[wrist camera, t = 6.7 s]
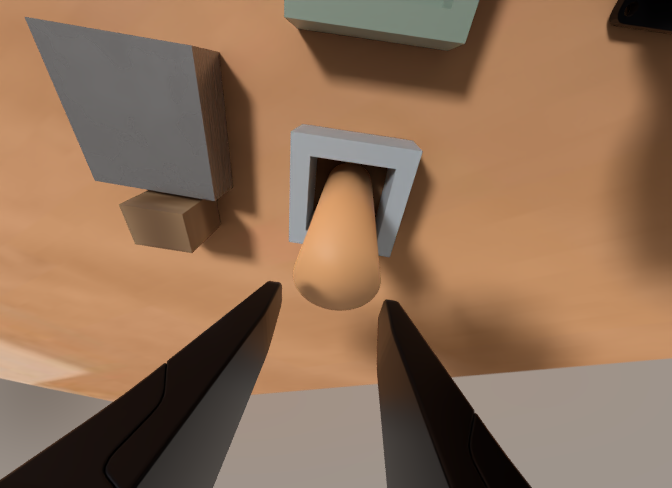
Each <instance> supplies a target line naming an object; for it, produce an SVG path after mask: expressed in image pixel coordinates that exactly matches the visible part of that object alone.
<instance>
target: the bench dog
mask: <svg viewBox="0 0 672 488" xmlns="http://www.w3.org/2000/svg"><path fill="white" fill-rule="evenodd" d="M119 206H120V208H121V211H122V213H123V216H124V218H125V221H126V223H127V225H128V228H129V230H130V233H131V235H132V237H133V240H134V242H135V244H137V245H144V246H150V247H157V248H163V249H169V250H176V251H182V252H189V253H193V252H194V251H195V250H196V249H197V248H198V247H199V246H200V245H201V244H202V243H203V242H204V241H205V240H206V239H207V238H208V237H209V236H210V235H211V234H212V233H213V232H214V231H215V230H216V229H217V228H218V227H219V226H220V225H221V224H220V218H219V212H218V206H217V200H216V201H211V200H205V199H199V198H194V197H188V196H182V195H176V194H170V193H164V192H159V191H153V190H148V191H146V192H144V193H142V194H140V195H138V196H135V197H133V198H131V199H129V200H127V201H125V202H123V203H121V204H119Z"/></svg>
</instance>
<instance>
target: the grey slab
mask: <svg viewBox="0 0 672 488" xmlns="http://www.w3.org/2000/svg"><path fill="white" fill-rule="evenodd" d="M25 19H26V21H27V24H28V26H29V28H30V31H31V33H32V35H33V38H34V40H35V42H36V45H37V47H38V49H39V52H40V54H41V56H42V59H43V61H44V63H45V66H46V68H47V70H48V73H49V75H50V77H51V80H52V82H53V84H54V87H55V89H56V91H57V94H58V96H59V98H60V100H61V103H62V105H63V107H64V110H65V112H66V114H67V117H68V119H69V121H70V124H71V126H72V128H73V131H74V133H75V135H76V138H77V140H78V142H79V145H80V147H81V149H82V152H83V154H84V156H85V159H86V161H87V163H88V166H89V168H90V170H91V173H92V175H93V177H94V180H95V181H100V182H106V183H112V184H118V185H124V186H130V187H135V188H141V189H147V190H153V191H159V192H164V193H170V194H176V195H182V196H188V197H194V198H199V199H205V200H211V201H216V200H217V199H218V198H220V197H221V196H222V195H224V194H225V193H226V192H227V191H229V190H230V189H231V188H233V182H232V172H231V163H230V153H229V143H228V133H227V124H226V114H225V104H224V94H223V84H222V75H221V65H220V55H219V52H216V51H212V50H208V49H203V48H199V47H195V46H191V45H185V44H179V43H173V42H167V41H162V40H156V39H150V38H144V37H138V36H133V35H127V34H121V33H115V32H110V31H104V30H98V29H92V28H86V27H81V26H75V25H69V24H63V23H57V22H52V21H46V20H40V19H34V18H28V17H25Z"/></svg>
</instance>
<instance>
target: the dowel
mask: <svg viewBox="0 0 672 488" xmlns="http://www.w3.org/2000/svg"><path fill="white" fill-rule="evenodd" d="M293 280H294V283H295V286H296V288H297V290H298V291H299V292H300V294H301V295H302V296H303V297H304V298H306V299H307V300H308V301H310V302H311V303H313V304H315V305H317V306H319V307H322V308H325V309H330V310H340V311H342V310H351V309H355V308H358V307H361V306H363V305H365V304H366V303H368V302H369V301H371V300H372V299H373V298H374V297H375V295H376V294H377V292H378V290H379V288H380V284H381V275H380V265H379V254H378V244H377V233H376V222H375V212H374V201H373V191H372V181H371V177H370V175H369V173H368V172H367V170H366V169H365V168H363V167H362V166H360V165H359V164H356V163H343V164H340V165H338V166H336V167H335V168H334V169H333V170H332V171H331V172H330V174H329V176H328V178H327V181H326V184H325V186H324V189H323V192H322V194H321V197H320V200H319V202H318V205H317V207H316V210H315V213H314V215H313V218H312V221H311V223H310V226H309V229H308V231H307V234H306V236H305V239H304V242H303V244H302V247H301V250H300V252H299V255H298V258H297V260H296V263H295V266H294V269H293Z"/></svg>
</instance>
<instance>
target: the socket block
mask: <svg viewBox="0 0 672 488" xmlns="http://www.w3.org/2000/svg"><path fill="white" fill-rule="evenodd" d="M422 152H423V151H422V150H421V149H420V148H419V147H418V146H417V145H416V144H415V143H414V142H413V141H412V140H405V139H398V138H392V137H385V136H379V135H372V134H365V133H359V132H352V131H345V130H339V129H332V128H326V127H319V126H312V125H306V124H302V125H300V126H299V127H297V128H296V129H294V130H292V131H291V154H290V213H289V242H294V243H301V244H303V242H304V239H305V236H306V234H307V231H308V229H309V226H310V223H311V221H312V218H313V215H314V213H315V211H313V209H314V196H315V183H316V170H317V158H318V157H319V158H326V159H333V160H339V161H346V162H352V163H359V164H365V165H372V166H379V167H385V168H388V170H387V174H386V178H385V183H384V187H383V191H382V195H381V199H380V203H379V207H378V211H377V215H376V219H375V222H376V233H377V244H378V254H379V256H385V257H390V255H391V251H392V248H393V245H394V242H395V239H396V235H397V232H398V229H399V226H400V223H401V219H402V216H403V213H404V210H405V207H406V203H407V200H408V197H409V194H410V190H411V187H412V184H413V181H414V178H415V174H416V171H417V168H418V165H419V162H420V158H421V155H422Z"/></svg>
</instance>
